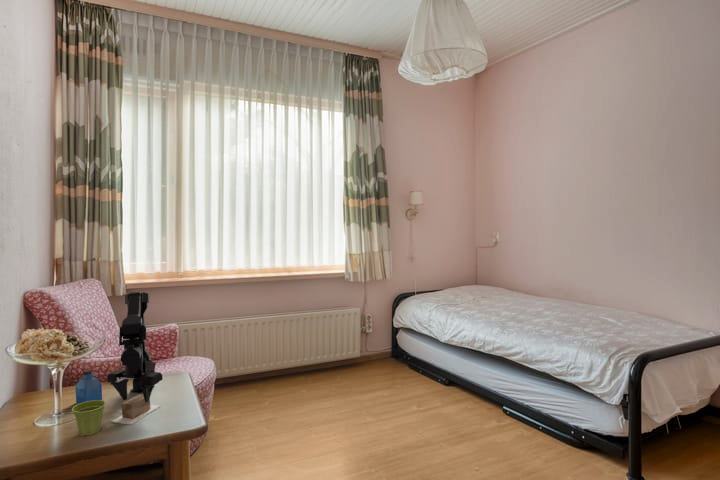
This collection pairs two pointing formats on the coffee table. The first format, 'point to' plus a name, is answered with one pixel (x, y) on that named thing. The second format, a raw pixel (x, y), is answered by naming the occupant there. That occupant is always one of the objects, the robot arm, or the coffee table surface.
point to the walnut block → (135, 407)
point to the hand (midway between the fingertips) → (136, 400)
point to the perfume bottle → (88, 388)
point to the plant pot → (89, 416)
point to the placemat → (131, 421)
